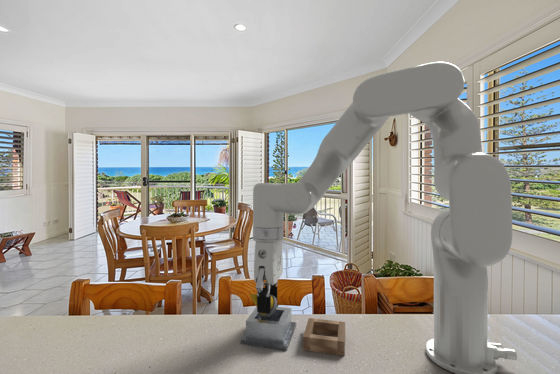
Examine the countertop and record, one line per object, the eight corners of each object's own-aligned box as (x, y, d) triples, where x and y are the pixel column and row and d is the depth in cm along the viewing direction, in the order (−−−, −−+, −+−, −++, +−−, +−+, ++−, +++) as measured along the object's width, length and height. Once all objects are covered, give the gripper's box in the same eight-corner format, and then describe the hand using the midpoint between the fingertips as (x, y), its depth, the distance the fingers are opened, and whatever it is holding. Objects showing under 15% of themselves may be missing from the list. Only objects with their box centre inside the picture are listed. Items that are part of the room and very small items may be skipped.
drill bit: (284, 317, 68) (258, 300, 63) (267, 324, 70) (240, 309, 65) (283, 297, 73) (258, 279, 67) (267, 304, 74) (241, 288, 69)
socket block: (345, 334, 69) (345, 321, 69) (344, 355, 61) (344, 341, 61) (308, 329, 72) (308, 318, 72) (303, 350, 63) (303, 336, 63)
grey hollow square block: (296, 326, 73) (295, 307, 73) (286, 350, 63) (286, 328, 63) (255, 321, 76) (255, 303, 76) (240, 343, 65) (240, 322, 65)
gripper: (274, 241, 60) (273, 326, 60) (290, 228, 76) (289, 295, 77) (240, 239, 62) (240, 321, 62) (263, 227, 78) (263, 292, 79)
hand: (267, 306), depth 69 cm, fingers closed on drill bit, 5 cm apart
